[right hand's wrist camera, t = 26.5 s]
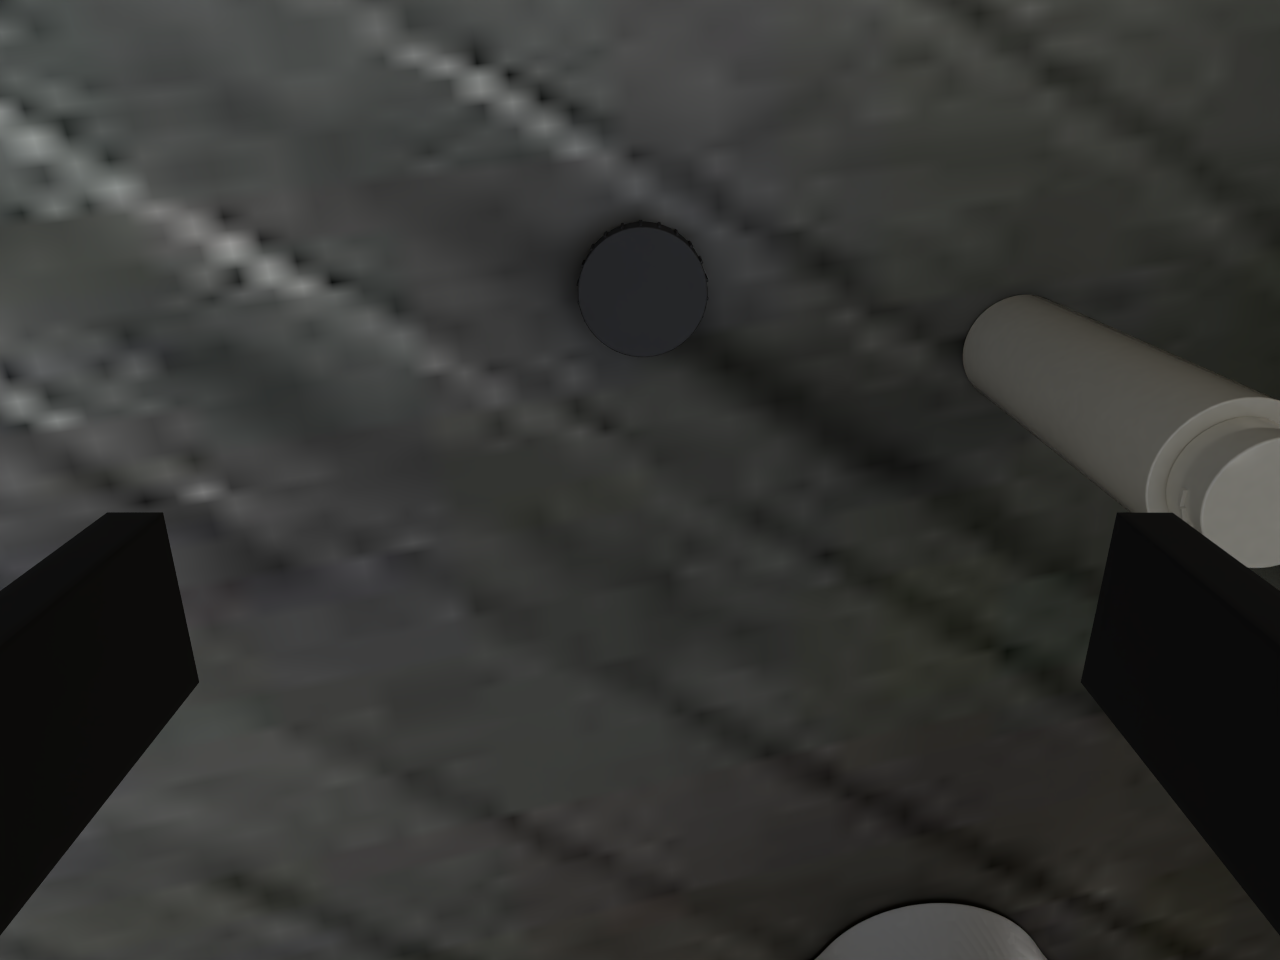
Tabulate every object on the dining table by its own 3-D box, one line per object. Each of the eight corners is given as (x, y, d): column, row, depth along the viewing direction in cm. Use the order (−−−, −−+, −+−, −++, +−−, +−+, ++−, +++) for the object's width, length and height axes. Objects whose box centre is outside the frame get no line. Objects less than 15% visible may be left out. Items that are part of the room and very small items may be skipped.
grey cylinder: (992, 422, 41) (1220, 616, 25) (942, 335, 40) (1151, 483, 24) (1091, 362, 40) (1395, 525, 24) (1043, 272, 39) (1334, 380, 23)
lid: (659, 193, 38) (660, 196, 36) (730, 302, 39) (734, 311, 37) (553, 268, 39) (549, 276, 37) (627, 371, 40) (626, 383, 39)
